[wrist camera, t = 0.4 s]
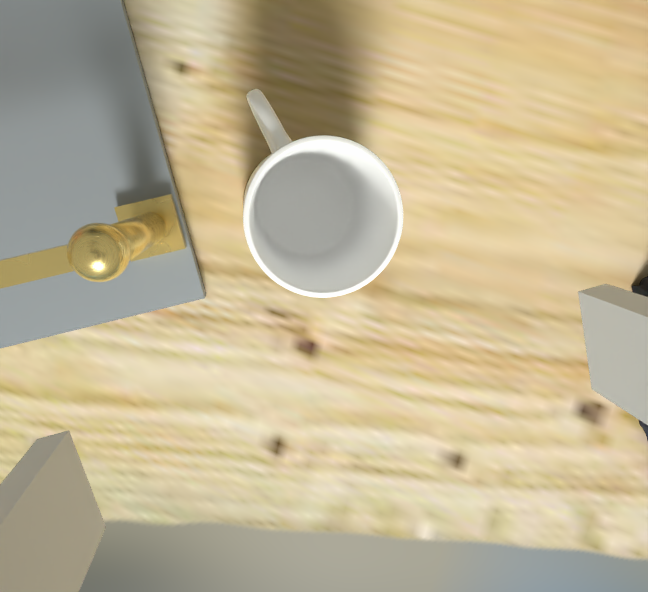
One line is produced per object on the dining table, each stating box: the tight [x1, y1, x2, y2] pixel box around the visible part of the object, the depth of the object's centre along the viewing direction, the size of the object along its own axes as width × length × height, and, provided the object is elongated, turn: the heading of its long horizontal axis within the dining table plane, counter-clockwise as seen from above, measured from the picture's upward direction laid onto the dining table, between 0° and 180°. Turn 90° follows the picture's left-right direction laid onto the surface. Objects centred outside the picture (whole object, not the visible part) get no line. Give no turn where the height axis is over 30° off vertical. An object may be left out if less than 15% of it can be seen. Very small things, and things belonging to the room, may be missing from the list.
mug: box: [243, 89, 403, 298], centre depth 34 cm, size 12×8×12 cm
